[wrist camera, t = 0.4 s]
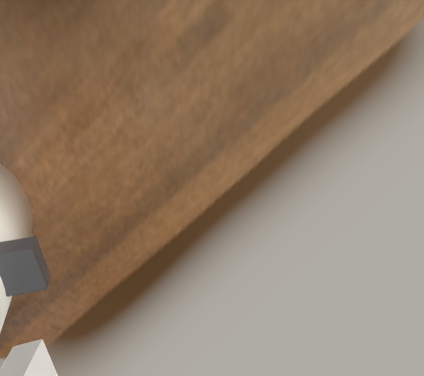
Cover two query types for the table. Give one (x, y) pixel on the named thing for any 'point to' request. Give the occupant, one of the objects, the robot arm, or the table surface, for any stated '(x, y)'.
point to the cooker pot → (18, 245)
